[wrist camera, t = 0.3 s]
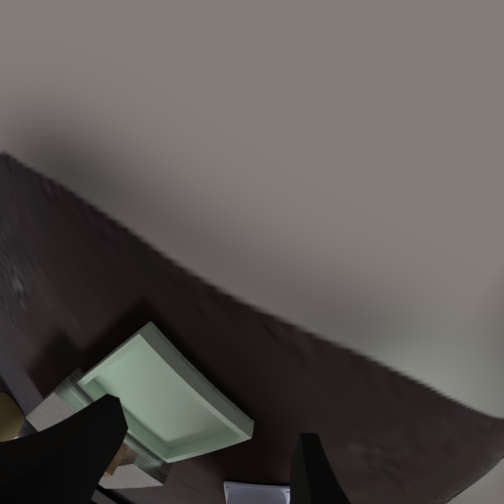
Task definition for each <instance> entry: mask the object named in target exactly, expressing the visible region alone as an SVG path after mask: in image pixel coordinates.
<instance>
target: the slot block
mask: <svg viewBox="0 0 504 504" xmlns="http://www.w3.org/2000/svg"><path fill="white" fill-rule="evenodd" d="M84 375H85V373H84V372H83V370H82V369H81V368H80V367H78V368H77V369H76V370H75V371H74V372H73V373H71V374H70V375H69V376H68V377H67V378H66V379H65V380H64V381H63V382H61V383H60V384H59V385H58V386H57V387H56V388H55V389H54V390H53V391H51V392H50V393H49V394H48V395H47V396H46V397H45V398H44V399H43V400H42V401H41V402H40V403H39V404H38V405H37V406H36V407H35V408H34V409H33V410H32V411H31V412H30V413H29V414H28V415H27V416H26V417H25V418H26V419H27V420H28V421H29V422H30V423H31V424H32V425H33V427H34V428H35V429H36V430H37V431H38V432H39V431H42V430H44V429H46V428H49V427H51V426H53V425H55V424H57V423H59V422H60V421H62V420H64V419H66V418H68V417H70V416H71V415H73V414H75V413H76V412H78V411H80V410H81V409H83V408H85V407H86V406H88V405H89V404H91V403H93V402H94V401H93V400H92V399H91V398H90V397H89V396H88V395H87V394H86V393H85V392H84V390H83V389H82V388H81V387H80V386H79V385H78V384H77V382H78V381H79V380H80V379H81V378H82V377H83V376H84ZM122 444H123V445H124V446H125V447H126V448H128V449H127V451H126V452H125V454H124V456H123V458H122V459H121V461H120V463H119V465H118V466H117V468H116V470H115V472H114V473H113V475H112V476H107V477H102V478H101V480H100V481H99V483H98V484H99V485H101V486H102V487H104V488H105V489H115V488H138V487H151V486H161V485H164V484H165V481H166V479H167V476H168V474H169V472H170V469H171V467H172V464H173V462H170V463H167V462H165V461H164V460H162V459H161V458H160V457H158V456H157V455H156V454H154V453H153V452H152V451H150V450H149V449H148V448H146V447H145V446H144V445H142V444H141V443H140V442H139V441H138V440H136V439H135V438H134V437H133V436H131V435H130V434H129V433H128V432H127V433H126V436H125V438H124V440H123V443H122Z"/></svg>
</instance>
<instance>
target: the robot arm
mask: <svg viewBox="0 0 504 504" xmlns="http://www.w3.org/2000/svg"><path fill="white" fill-rule="evenodd" d="M127 431H128V425H127V422H126V419H125V416H124V412H123V409H122V406H121V402H120V399H119V397H116V396H113V395H110V394H105V395H104V396H102V397H101V398H99V399H97V400H96V401H94V402H93V403H91V404H89V405H88V406H86V407H85V408H83V409H81V410H80V411H78V412H76V413H75V414H73V415H71V416H70V417H68V418H66V419H64V420H62V421H60V422H59V423H57V424H55V425H53V426H51V427H49V428H46V429H44V430H42V431H39V432H37V433H34V434H31V435H28V436H25V437H21V438H17V439H13V440H9V441H3V442H0V504H89V503H90V501H91V498H92V496H93V494H94V491H95V489H96V487H97V485H98V483H99V481H100V480H101V478H102V476H103V475H104V473H105V472H106V470H107V468H108V467H109V465H110V464H111V462H112V460H113V459H114V457H115V455H116V454H117V452H118V451H119V449H120V447H121V445H122V443H123V440H124V438H125V436H126V433H127ZM289 484H290V486H272V485H257V484H246V483H237V482H230V481H225V482H224V491H225V497H226V504H289V502H290V504H351V503H350V501H349V500H348V498H347V496H346V495H345V493H344V491H343V490H342V488H341V486H340V484H339V482H338V481H337V478H336V476H335V474H334V472H333V470H332V468H331V466H330V464H329V462H328V459H327V457H326V454H325V452H324V449H323V446H322V444H321V441H320V437H319V435H318V434H317V433H300V436H299V439H298V442H297V445H296V448H295V451H294V454H293V457H292V460H291V470H290V482H289Z"/></svg>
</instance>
